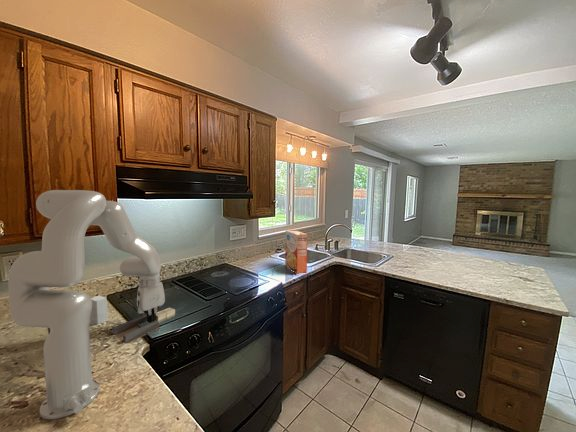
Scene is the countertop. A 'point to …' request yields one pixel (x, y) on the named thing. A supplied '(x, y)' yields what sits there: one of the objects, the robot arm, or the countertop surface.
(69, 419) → the countertop surface
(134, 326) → the slot block
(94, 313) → the skincare box
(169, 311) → the beige cube
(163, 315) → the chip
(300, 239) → the pasta box
